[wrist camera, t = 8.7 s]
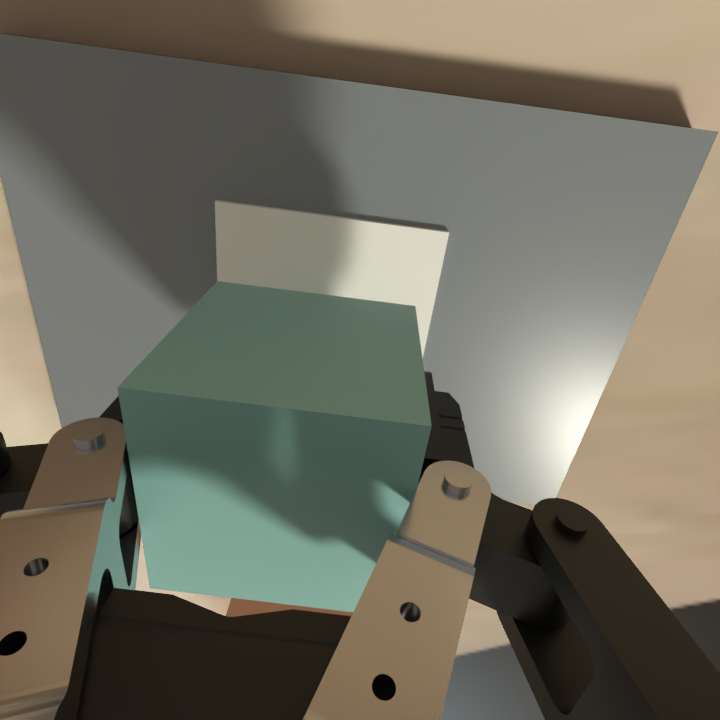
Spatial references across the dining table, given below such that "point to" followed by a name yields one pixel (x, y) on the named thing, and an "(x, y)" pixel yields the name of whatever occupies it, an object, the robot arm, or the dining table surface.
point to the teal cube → (276, 444)
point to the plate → (339, 226)
